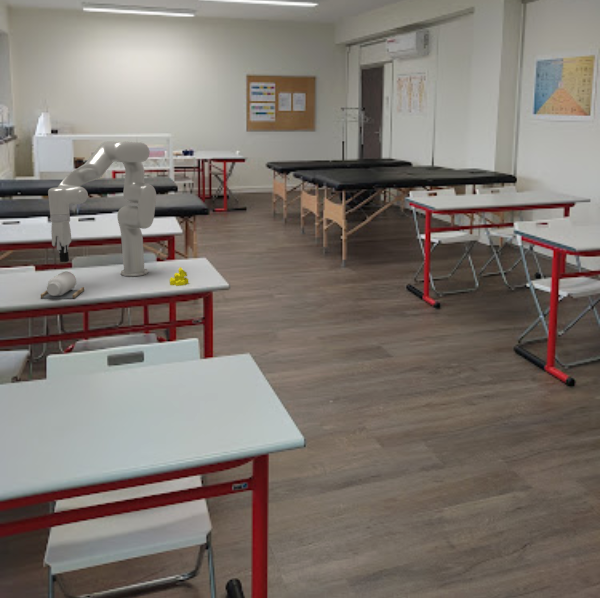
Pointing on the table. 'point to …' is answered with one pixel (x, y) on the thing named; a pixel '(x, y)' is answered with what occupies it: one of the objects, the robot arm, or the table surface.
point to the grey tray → (65, 296)
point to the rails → (72, 295)
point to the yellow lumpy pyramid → (179, 278)
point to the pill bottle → (61, 283)
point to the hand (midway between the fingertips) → (64, 261)
